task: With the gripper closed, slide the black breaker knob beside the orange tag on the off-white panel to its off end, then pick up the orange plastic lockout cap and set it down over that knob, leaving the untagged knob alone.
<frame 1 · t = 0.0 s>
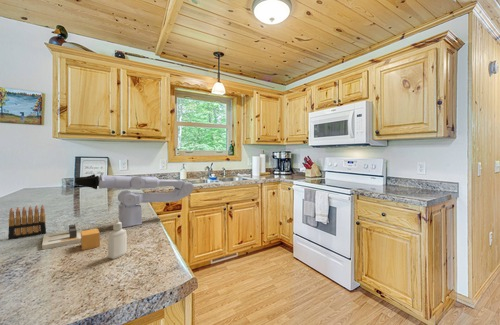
hand: (75, 181, 93), 22 cm above the countertop, tool horizontal, fingers open, 7 cm apart
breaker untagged: (72, 229, 90), point 3 cm above the countertop, slide at 0.0 cm, touching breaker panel
ammunition clip: (28, 236, 90), on the countertop
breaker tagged: (73, 233, 85), point 3 cm above the countertop, slide at 0.0 cm, touching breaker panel
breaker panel: (62, 240, 86), on the countertop
lockout cap: (90, 245, 81), on the countertop
eye dropper bottle: (117, 256, 74), on the countertop
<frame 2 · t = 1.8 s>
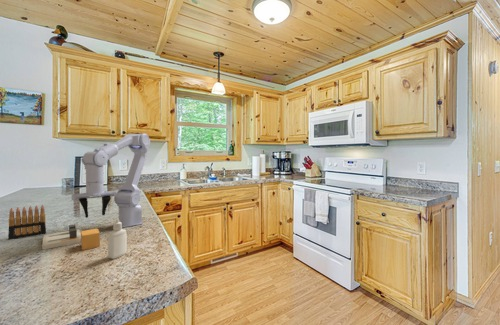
hand: (95, 215, 90), 8 cm above the countertop, tool pointing down, fingers open, 5 cm apart
nothing on the countertop moved.
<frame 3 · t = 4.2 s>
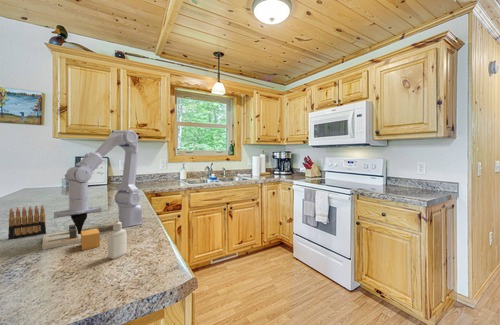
hand: (79, 233, 86), 2 cm above the countertop, tool pointing down, fingers closed, pressing on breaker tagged
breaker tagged: (73, 233, 85), point 3 cm above the countertop, slide at 0.0 cm, touching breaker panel, gripper
everything else where it was.
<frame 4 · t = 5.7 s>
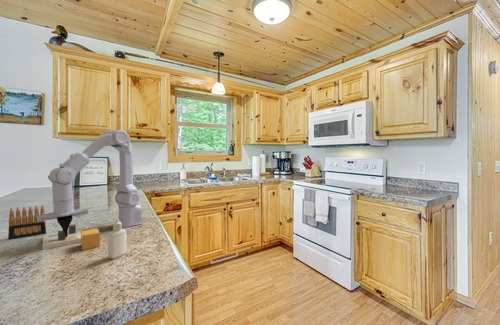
hand: (65, 236, 84), 2 cm above the countertop, tool pointing down, fingers closed, pressing on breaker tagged
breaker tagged: (61, 235, 83), point 3 cm above the countertop, slide at 3.3 cm, touching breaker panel, gripper
everything else where it was.
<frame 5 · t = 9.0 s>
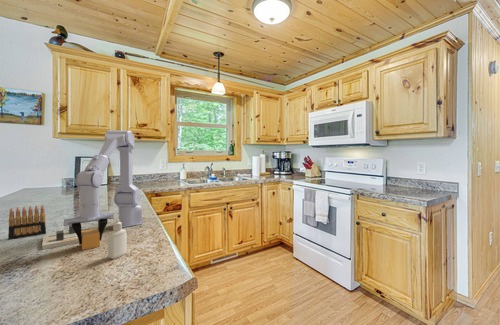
hand: (90, 241, 81), 1 cm above the countertop, tool pointing down, fingers closed on lockout cap, 5 cm apart
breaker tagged: (60, 235, 83), point 3 cm above the countertop, slide at 3.8 cm, touching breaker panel
lockout cap: (90, 245, 81), on the countertop, touching gripper
everything else where it was.
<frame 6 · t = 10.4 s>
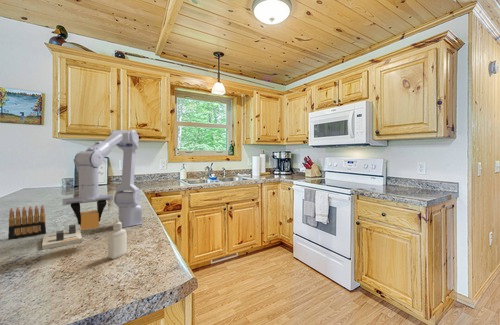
hand: (89, 222, 81), 8 cm above the countertop, tool pointing down, fingers closed on lockout cap, 5 cm apart
lockout cap: (89, 226, 81), point 7 cm above the countertop, touching gripper
everything else where it was.
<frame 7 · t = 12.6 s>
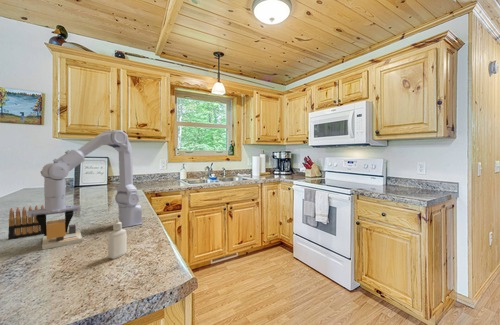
hand: (55, 233, 82), 4 cm above the countertop, tool pointing down, fingers closed on lockout cap, 5 cm apart
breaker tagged: (59, 235, 83), point 3 cm above the countertop, slide at 3.8 cm, touching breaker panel, lockout cap
lockout cap: (56, 235, 82), point 3 cm above the countertop, touching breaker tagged, gripper
everything else where it was.
when the fingers open (4 cm above the countertop, at t = 12.7 s): lockout cap drops 2 cm, resting on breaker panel.
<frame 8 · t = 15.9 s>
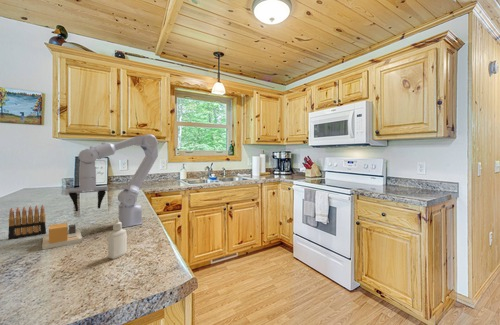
hand: (88, 209, 96), 9 cm above the countertop, tool pointing down, fingers open, 7 cm apart
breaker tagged: (59, 235, 83), point 3 cm above the countertop, slide at 3.8 cm, touching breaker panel
lockout cap: (58, 239, 83), point 2 cm above the countertop, touching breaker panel
everything else where it was.
at the end: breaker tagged slide at 3.8 cm; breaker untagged slide at 0.0 cm; lockout cap 0.8 cm from the target spot, point 1.6 cm above the countertop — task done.
